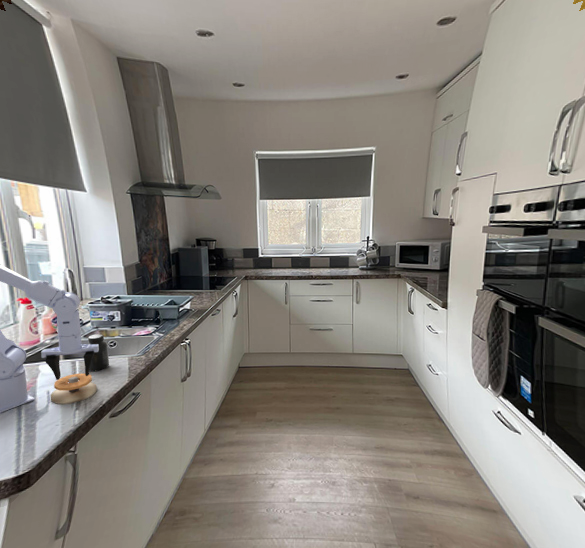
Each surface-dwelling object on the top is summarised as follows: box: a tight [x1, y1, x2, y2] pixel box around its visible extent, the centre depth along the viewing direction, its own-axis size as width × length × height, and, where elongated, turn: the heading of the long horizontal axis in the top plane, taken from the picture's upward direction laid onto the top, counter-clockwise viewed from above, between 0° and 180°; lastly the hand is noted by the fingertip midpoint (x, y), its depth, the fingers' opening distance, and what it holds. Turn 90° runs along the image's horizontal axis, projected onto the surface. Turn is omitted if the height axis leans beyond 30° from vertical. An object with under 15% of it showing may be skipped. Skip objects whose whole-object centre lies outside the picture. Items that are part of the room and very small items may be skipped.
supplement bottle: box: [87, 333, 110, 372], centre depth 124 cm, size 7×7×12 cm
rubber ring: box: [53, 373, 93, 391], centre depth 106 cm, size 10×10×1 cm
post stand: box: [50, 377, 98, 405], centre depth 106 cm, size 12×12×5 cm
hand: (73, 376), depth 105 cm, fingers open, 7 cm apart
